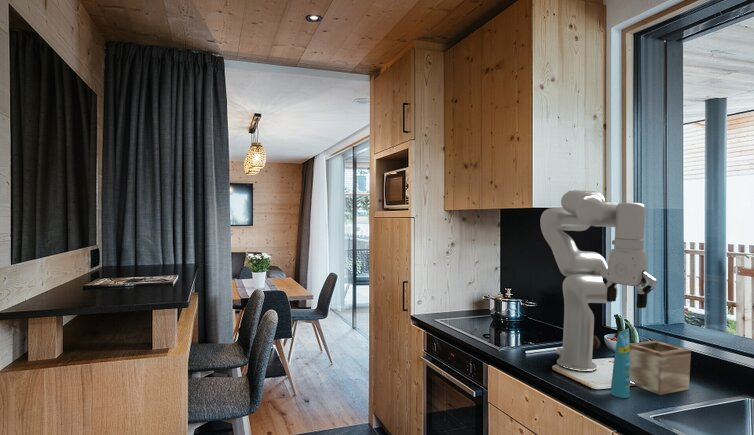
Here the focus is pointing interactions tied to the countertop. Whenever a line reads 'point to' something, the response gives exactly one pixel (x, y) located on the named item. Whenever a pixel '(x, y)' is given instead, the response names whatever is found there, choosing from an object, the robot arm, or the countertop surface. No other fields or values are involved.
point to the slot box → (659, 367)
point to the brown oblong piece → (596, 343)
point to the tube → (621, 366)
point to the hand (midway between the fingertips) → (625, 304)
